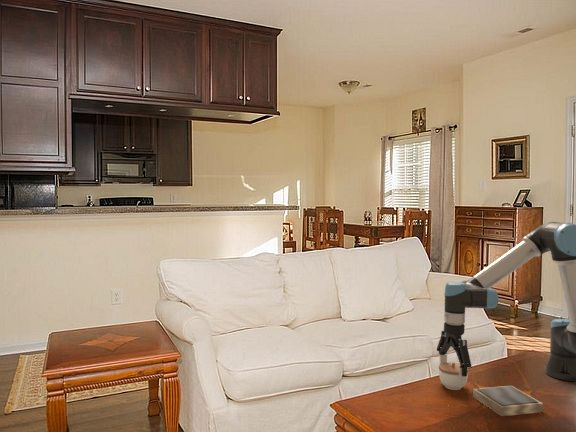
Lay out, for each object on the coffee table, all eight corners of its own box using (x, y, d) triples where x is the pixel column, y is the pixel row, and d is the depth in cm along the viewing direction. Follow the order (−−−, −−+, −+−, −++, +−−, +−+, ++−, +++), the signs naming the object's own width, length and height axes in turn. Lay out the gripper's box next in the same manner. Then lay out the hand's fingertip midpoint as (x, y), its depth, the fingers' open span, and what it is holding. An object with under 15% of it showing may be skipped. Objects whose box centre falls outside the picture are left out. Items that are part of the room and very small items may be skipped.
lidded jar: (470, 393, 180) (470, 369, 180) (440, 391, 182) (440, 366, 182) (465, 383, 190) (465, 359, 190) (437, 380, 193) (437, 357, 192)
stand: (511, 393, 181) (511, 384, 180) (542, 412, 165) (542, 402, 165) (472, 397, 177) (473, 388, 177) (501, 416, 161) (501, 406, 161)
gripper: (428, 315, 197) (427, 366, 198) (464, 332, 172) (462, 390, 173) (445, 314, 198) (443, 365, 199) (482, 331, 174) (480, 389, 175)
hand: (452, 377), depth 186 cm, fingers open, 13 cm apart
